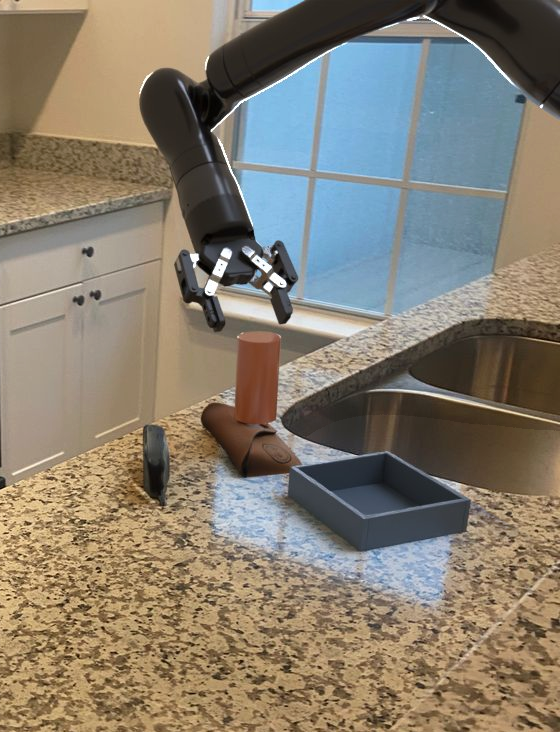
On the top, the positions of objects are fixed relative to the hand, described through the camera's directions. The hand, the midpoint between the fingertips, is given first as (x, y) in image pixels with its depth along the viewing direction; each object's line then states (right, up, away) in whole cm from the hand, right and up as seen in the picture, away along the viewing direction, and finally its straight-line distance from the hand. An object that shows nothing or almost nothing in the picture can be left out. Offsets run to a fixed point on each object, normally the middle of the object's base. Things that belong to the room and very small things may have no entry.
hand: (253, 324), depth 121 cm
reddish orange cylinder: (+1, -11, +3) cm, 11 cm away
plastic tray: (+10, -23, -13) cm, 28 cm away
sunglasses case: (+1, -15, +5) cm, 16 cm away
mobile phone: (-12, -19, -3) cm, 22 cm away
